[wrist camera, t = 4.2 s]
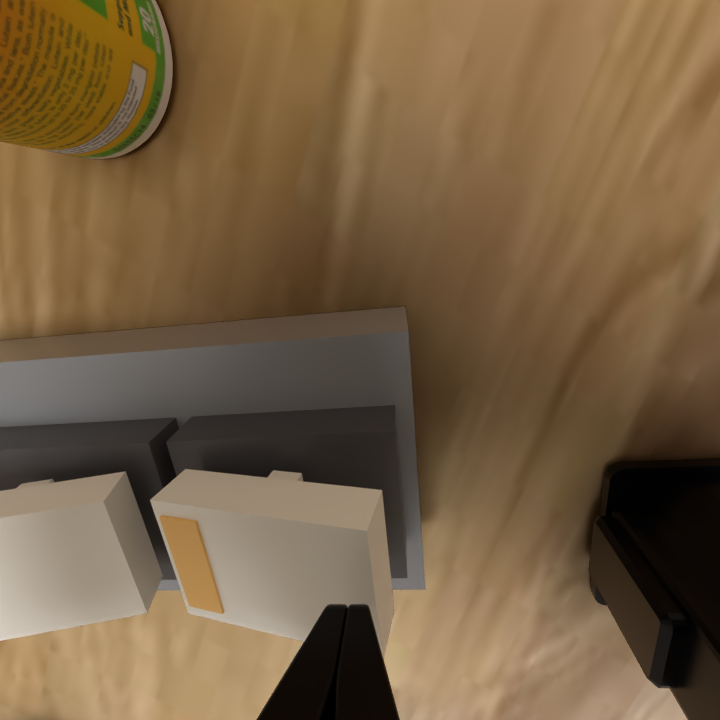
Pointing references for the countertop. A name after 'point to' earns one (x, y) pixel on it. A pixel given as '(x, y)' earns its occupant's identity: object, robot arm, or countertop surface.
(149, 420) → the rocker switch strip
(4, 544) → the middle rocker
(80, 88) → the supplement bottle
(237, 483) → the block
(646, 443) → the countertop surface
